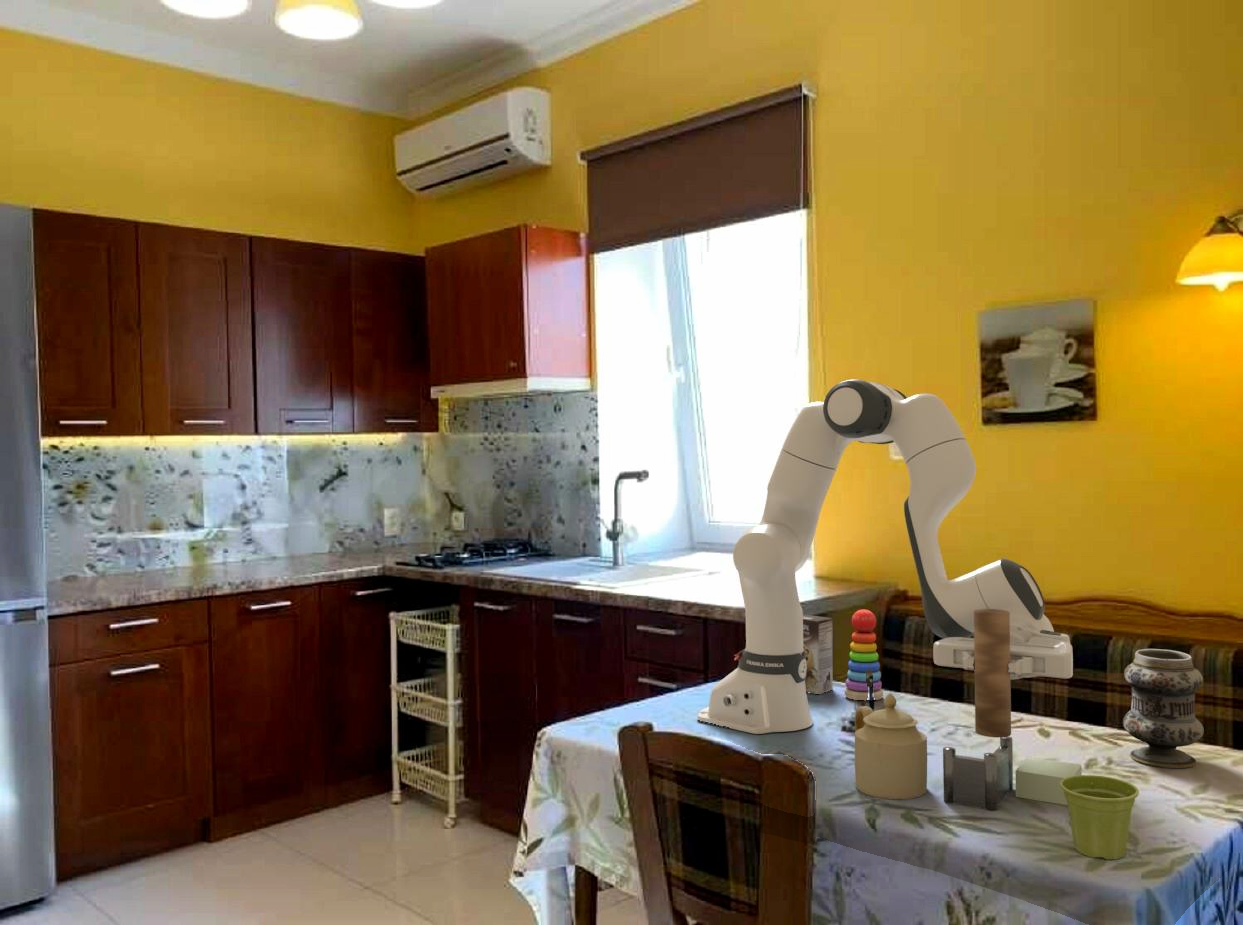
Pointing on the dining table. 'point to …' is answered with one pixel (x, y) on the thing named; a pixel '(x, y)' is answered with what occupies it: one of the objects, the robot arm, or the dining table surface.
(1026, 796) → the block
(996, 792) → the corner post block
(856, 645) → the stacking toy
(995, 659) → the brown wooden cylinder
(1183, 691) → the apothecary jar
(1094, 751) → the dining table surface
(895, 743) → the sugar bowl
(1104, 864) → the dining table surface
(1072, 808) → the plant pot
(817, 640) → the coffee box
